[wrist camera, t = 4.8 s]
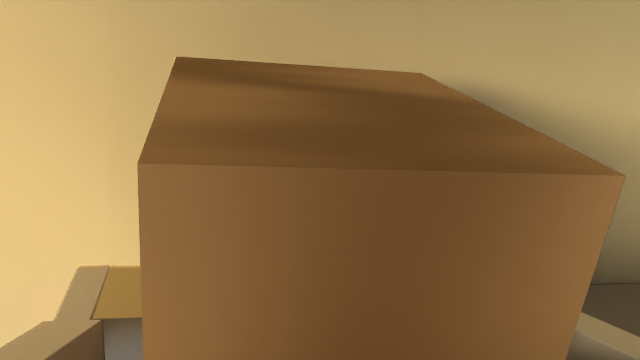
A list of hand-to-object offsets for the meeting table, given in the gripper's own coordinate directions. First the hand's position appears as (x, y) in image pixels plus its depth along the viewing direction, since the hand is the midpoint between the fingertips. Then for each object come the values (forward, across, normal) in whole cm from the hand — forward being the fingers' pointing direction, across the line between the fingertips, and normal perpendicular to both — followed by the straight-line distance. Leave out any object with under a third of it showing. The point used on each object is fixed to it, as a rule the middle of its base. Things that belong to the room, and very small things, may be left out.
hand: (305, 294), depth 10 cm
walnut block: (+2, 0, 0) cm, 2 cm away
